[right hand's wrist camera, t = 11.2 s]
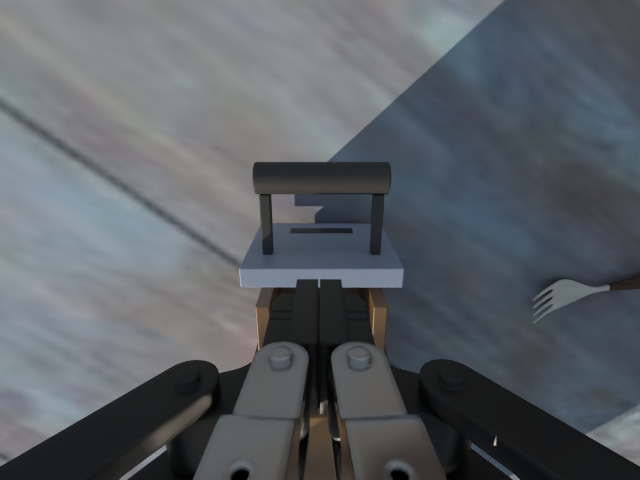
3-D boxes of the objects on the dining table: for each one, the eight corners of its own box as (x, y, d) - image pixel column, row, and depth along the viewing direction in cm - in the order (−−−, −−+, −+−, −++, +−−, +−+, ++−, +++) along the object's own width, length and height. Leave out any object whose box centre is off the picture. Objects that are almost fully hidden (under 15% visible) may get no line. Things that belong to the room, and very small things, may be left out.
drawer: (257, 149, 25) (230, 168, 18) (385, 150, 25) (413, 168, 18) (272, 414, 34) (258, 503, 26) (369, 414, 34) (383, 504, 26)
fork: (717, 278, 30) (744, 290, 28) (519, 312, 31) (532, 326, 29) (723, 249, 29) (751, 259, 27) (519, 286, 30) (532, 298, 28)
